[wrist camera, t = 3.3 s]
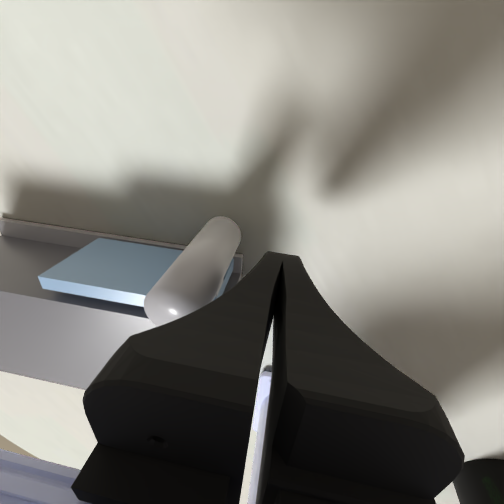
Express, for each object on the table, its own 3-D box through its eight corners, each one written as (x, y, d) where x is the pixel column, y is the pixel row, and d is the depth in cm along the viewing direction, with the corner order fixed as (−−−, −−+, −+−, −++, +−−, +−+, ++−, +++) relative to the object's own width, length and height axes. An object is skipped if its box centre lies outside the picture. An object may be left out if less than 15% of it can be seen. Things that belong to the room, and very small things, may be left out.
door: (243, 217, 13) (202, 293, 8) (240, 270, 15) (204, 364, 9) (89, 195, 14) (-47, 250, 9) (101, 248, 16) (-6, 321, 10)
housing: (243, 254, 15) (219, 312, 11) (236, 349, 19) (217, 419, 15) (-15, 215, 17) (-125, 251, 12) (28, 309, 21) (-43, 361, 16)
